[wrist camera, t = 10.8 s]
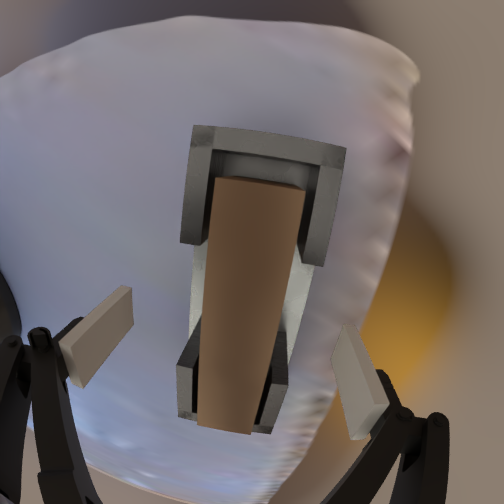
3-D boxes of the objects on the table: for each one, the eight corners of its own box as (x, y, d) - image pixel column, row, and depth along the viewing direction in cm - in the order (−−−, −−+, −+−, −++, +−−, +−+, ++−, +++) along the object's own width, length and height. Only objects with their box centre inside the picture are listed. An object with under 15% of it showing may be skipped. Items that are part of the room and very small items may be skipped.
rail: (212, 375, 22) (197, 424, 17) (235, 175, 17) (215, 177, 12) (256, 382, 22) (250, 434, 17) (295, 184, 17) (305, 191, 12)
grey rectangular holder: (190, 363, 27) (167, 416, 20) (211, 133, 20) (177, 115, 13) (281, 380, 27) (280, 438, 19) (334, 152, 20) (365, 143, 12)
